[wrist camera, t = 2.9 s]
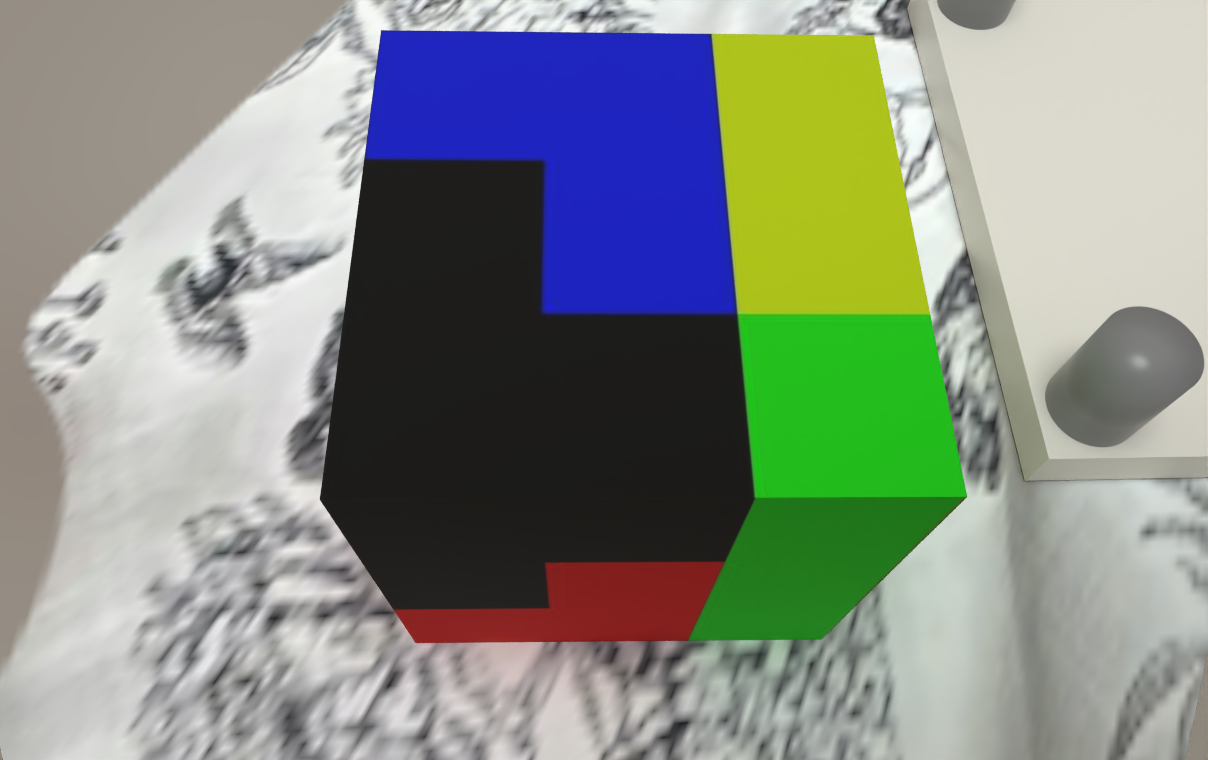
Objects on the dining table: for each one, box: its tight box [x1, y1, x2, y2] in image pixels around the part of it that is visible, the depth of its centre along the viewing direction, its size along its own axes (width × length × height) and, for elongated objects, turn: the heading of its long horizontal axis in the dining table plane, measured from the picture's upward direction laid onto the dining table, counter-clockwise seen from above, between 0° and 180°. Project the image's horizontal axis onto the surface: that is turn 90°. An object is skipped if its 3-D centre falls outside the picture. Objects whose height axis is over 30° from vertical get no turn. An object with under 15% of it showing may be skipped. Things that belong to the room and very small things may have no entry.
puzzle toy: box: [320, 30, 967, 643], centre depth 21 cm, size 10×10×10 cm
